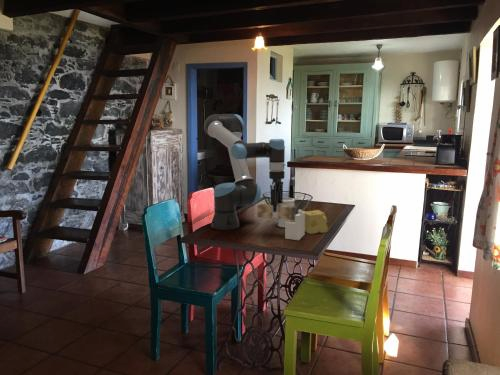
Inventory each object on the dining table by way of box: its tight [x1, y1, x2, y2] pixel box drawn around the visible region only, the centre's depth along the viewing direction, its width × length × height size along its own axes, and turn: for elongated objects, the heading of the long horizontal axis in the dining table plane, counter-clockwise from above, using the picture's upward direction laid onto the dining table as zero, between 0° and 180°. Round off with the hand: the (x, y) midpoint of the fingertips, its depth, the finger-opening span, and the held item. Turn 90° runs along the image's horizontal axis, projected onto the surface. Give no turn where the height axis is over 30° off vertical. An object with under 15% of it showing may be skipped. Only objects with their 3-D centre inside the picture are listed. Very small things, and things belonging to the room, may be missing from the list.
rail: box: [256, 203, 299, 220], centre depth 210 cm, size 20×4×6 cm, turn 68°
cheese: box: [305, 209, 328, 235], centre depth 218 cm, size 10×11×10 cm
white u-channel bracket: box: [284, 208, 306, 241], centre depth 207 cm, size 7×11×14 cm, turn 158°
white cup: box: [276, 197, 296, 228], centre depth 229 cm, size 11×10×15 cm
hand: (276, 216), depth 210 cm, fingers closed on rail, 4 cm apart
